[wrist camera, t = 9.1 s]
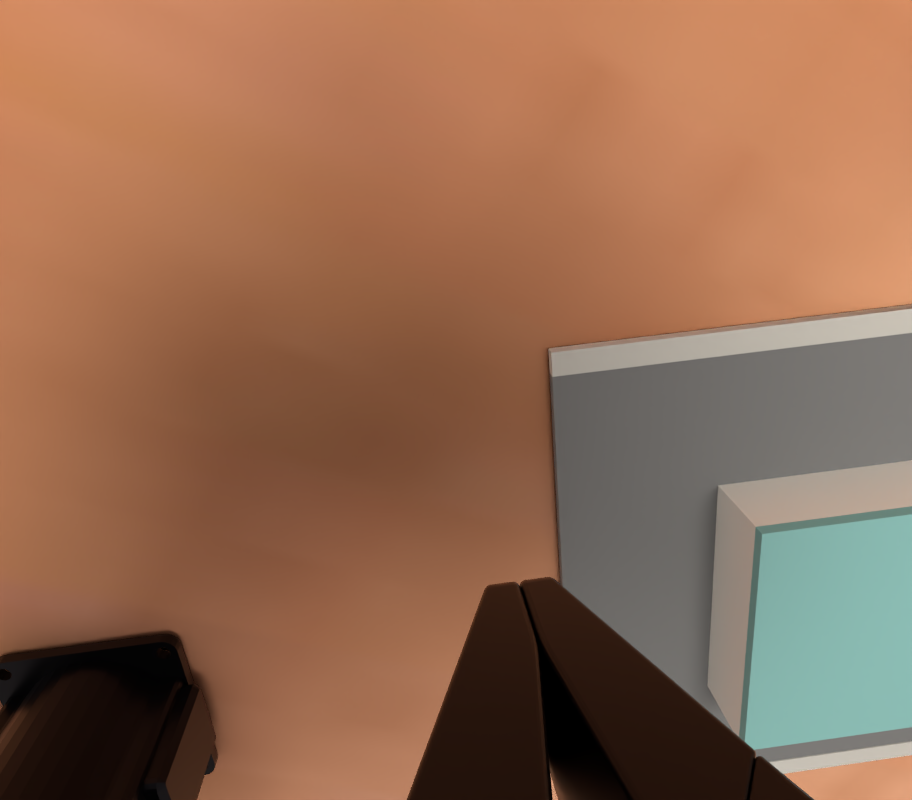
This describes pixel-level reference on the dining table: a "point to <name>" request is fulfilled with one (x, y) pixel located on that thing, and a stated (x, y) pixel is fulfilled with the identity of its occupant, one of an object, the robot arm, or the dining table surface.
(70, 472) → the dining table surface
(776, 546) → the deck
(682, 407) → the mat
